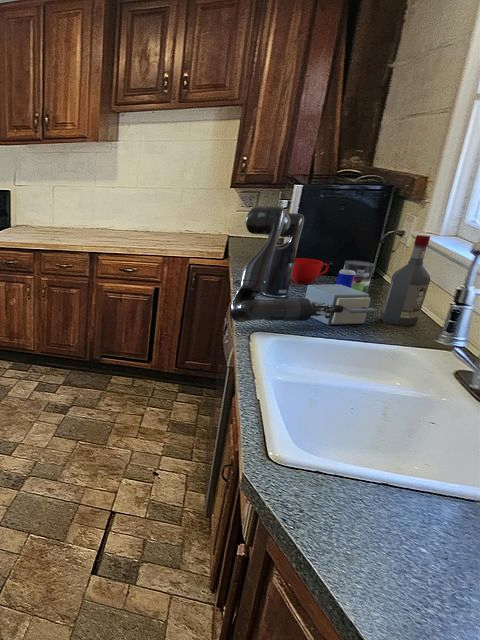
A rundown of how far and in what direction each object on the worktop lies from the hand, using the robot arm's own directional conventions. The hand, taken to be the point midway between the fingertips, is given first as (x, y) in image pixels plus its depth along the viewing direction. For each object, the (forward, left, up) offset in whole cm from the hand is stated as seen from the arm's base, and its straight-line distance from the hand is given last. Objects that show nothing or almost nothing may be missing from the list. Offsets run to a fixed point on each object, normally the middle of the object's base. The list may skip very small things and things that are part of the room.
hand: (341, 308), depth 177 cm
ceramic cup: (-64, +32, -7) cm, 71 cm away
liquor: (-5, +26, -7) cm, 28 cm away
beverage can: (-21, +16, -7) cm, 27 cm away
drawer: (-6, +6, -6) cm, 10 cm away
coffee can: (-39, +34, -7) cm, 52 cm away
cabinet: (-11, +6, -7) cm, 14 cm away
